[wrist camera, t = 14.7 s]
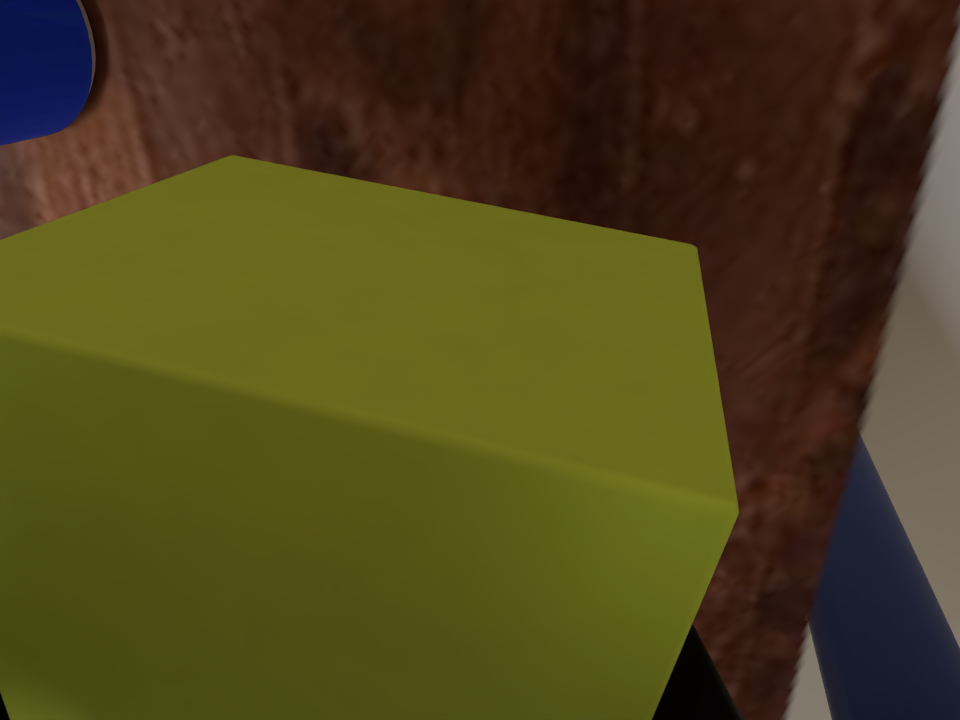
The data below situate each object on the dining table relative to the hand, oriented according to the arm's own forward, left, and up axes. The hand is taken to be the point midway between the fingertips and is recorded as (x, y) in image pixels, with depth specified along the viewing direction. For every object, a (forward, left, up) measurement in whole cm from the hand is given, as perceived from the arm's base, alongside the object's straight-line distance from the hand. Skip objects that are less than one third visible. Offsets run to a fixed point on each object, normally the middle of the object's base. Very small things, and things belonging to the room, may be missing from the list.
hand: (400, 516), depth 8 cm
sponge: (0, 0, -1) cm, 1 cm away
